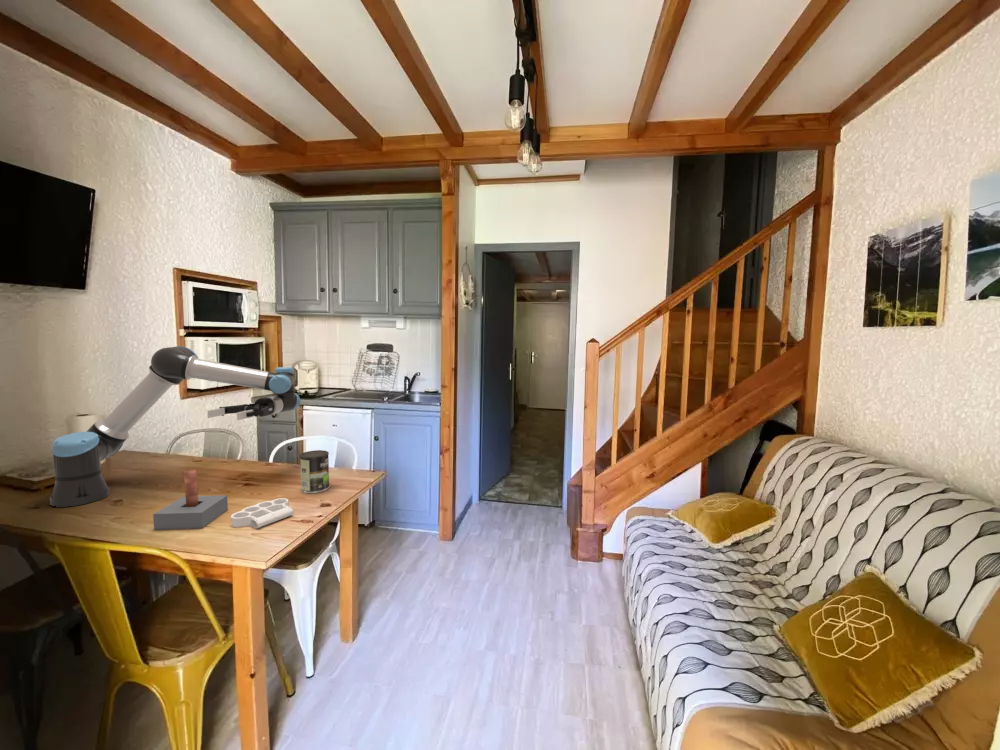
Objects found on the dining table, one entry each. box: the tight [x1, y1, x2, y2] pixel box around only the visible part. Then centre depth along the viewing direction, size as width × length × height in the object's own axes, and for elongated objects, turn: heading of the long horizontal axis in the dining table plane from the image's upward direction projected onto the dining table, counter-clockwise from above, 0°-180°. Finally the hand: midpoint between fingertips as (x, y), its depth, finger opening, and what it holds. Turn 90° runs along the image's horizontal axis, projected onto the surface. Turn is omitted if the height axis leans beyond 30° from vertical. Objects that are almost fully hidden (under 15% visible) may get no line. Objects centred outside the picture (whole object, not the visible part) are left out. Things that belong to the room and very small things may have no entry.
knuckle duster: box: [230, 497, 294, 529], centre depth 137 cm, size 3×18×15 cm
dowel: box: [183, 469, 199, 507], centre depth 134 cm, size 3×3×16 cm
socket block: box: [152, 494, 229, 531], centre depth 134 cm, size 14×14×5 cm
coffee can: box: [299, 449, 330, 494], centre depth 162 cm, size 10×10×14 cm
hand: (222, 415), depth 154 cm, fingers open, 13 cm apart
